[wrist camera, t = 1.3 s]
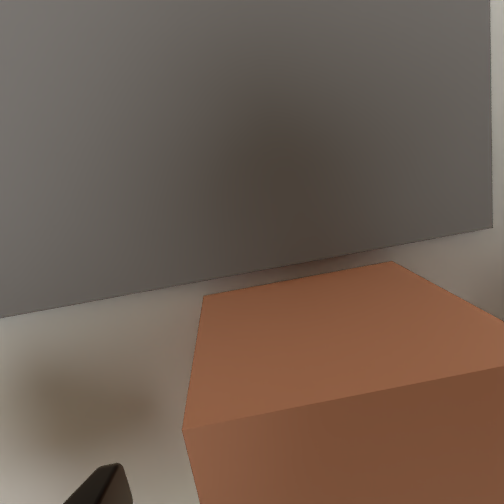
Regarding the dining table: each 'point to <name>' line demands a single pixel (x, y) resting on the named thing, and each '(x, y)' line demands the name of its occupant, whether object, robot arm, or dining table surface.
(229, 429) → the block
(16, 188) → the mat
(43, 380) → the dining table surface
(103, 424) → the dining table surface
